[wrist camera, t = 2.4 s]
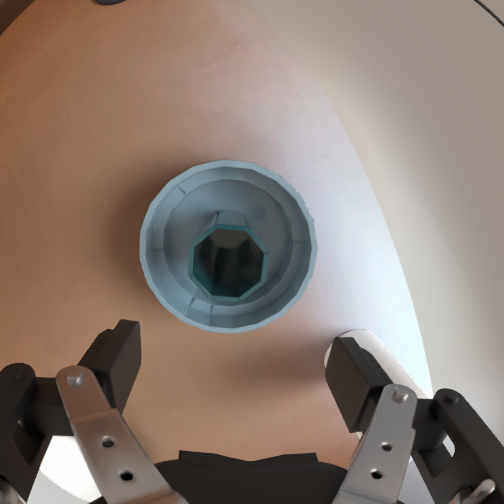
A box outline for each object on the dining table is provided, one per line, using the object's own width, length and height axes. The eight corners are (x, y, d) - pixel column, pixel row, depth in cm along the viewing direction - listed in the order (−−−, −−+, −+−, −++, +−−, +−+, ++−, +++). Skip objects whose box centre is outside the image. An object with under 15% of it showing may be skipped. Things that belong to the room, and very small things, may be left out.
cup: (313, 353, 38) (354, 443, 22) (365, 317, 37) (430, 391, 21) (339, 388, 40) (380, 470, 24) (387, 356, 39) (443, 428, 23)
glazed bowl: (311, 173, 32) (328, 173, 26) (290, 312, 36) (301, 337, 30) (160, 157, 30) (145, 153, 25) (152, 300, 34) (140, 323, 28)
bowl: (89, 478, 43) (79, 506, 35) (22, 402, 37) (2, 430, 29) (181, 475, 43) (178, 511, 35) (114, 390, 37) (97, 429, 29)
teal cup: (260, 214, 32) (272, 228, 23) (253, 270, 34) (262, 304, 25) (201, 208, 31) (191, 220, 23) (196, 265, 33) (186, 297, 24)
